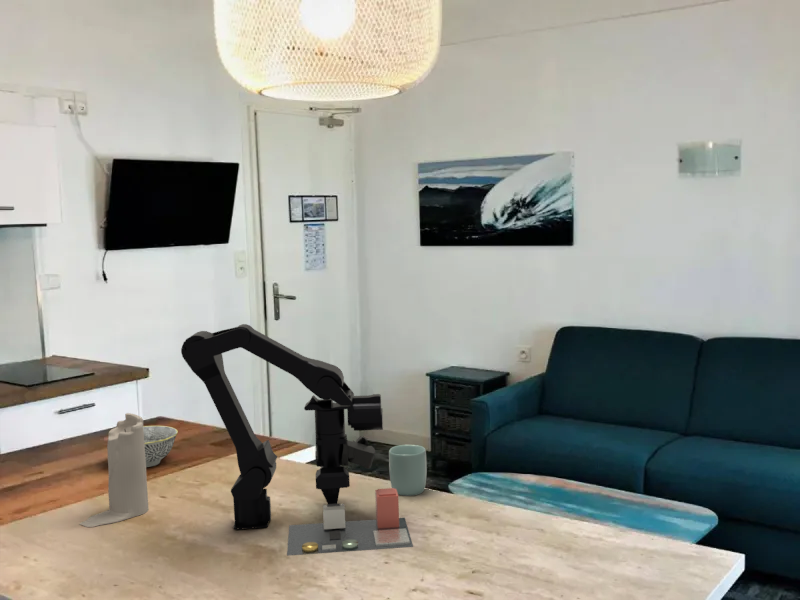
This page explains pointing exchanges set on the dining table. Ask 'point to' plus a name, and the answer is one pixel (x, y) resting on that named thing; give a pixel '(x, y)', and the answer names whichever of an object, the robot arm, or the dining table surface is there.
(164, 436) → the bowl
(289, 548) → the panel
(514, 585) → the dining table surface
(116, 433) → the grey tall curved piece
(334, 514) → the block
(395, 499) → the cap
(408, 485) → the cup
